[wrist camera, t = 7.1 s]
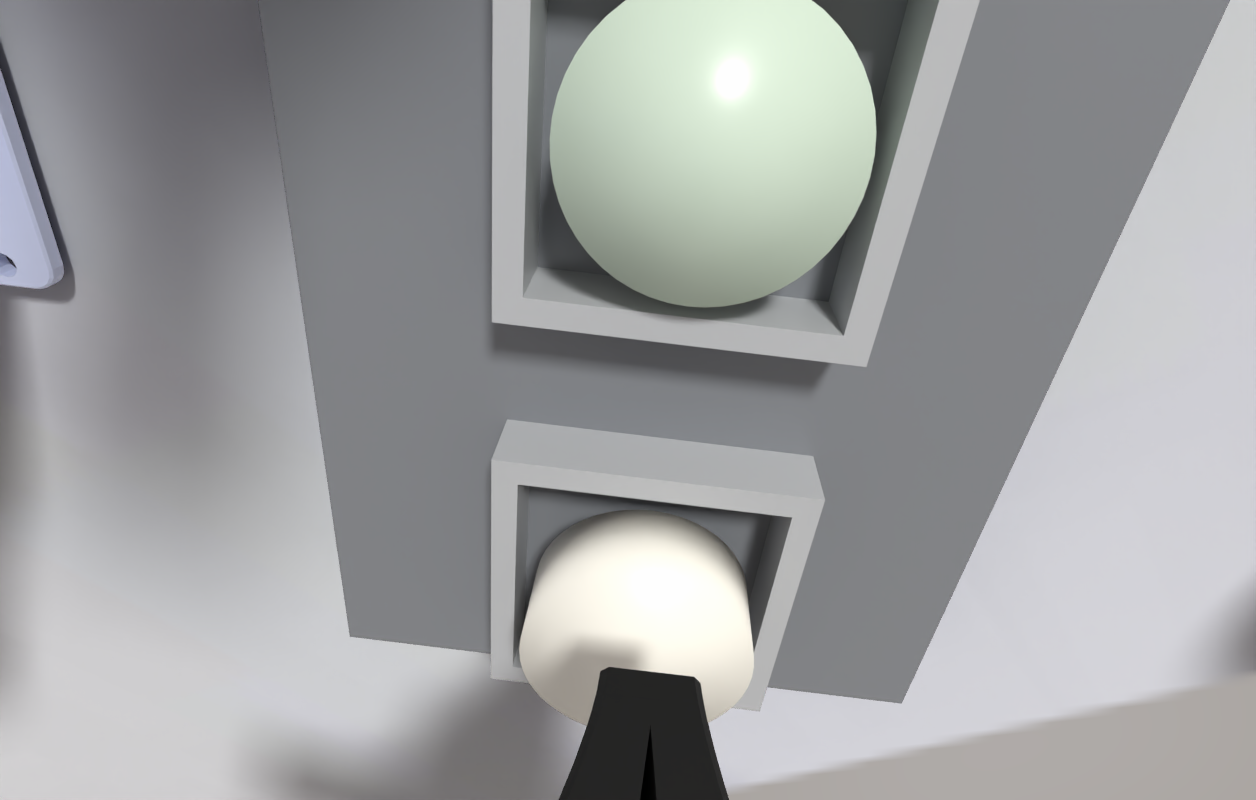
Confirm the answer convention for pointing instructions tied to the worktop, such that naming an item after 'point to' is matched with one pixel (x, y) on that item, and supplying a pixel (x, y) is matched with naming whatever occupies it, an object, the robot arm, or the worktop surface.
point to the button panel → (699, 316)
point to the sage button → (712, 145)
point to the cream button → (637, 610)
